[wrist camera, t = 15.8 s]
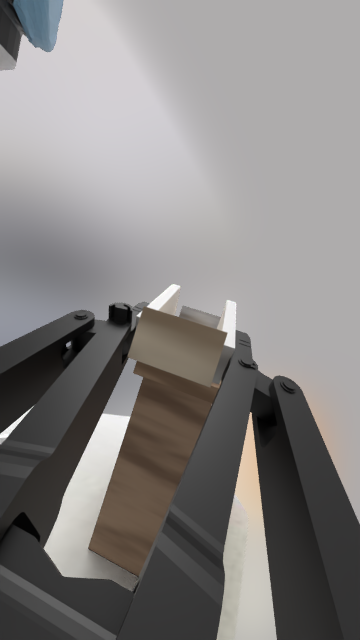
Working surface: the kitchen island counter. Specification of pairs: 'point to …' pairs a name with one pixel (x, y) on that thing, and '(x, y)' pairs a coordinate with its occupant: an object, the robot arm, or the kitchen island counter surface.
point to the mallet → (179, 343)
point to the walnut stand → (150, 464)
